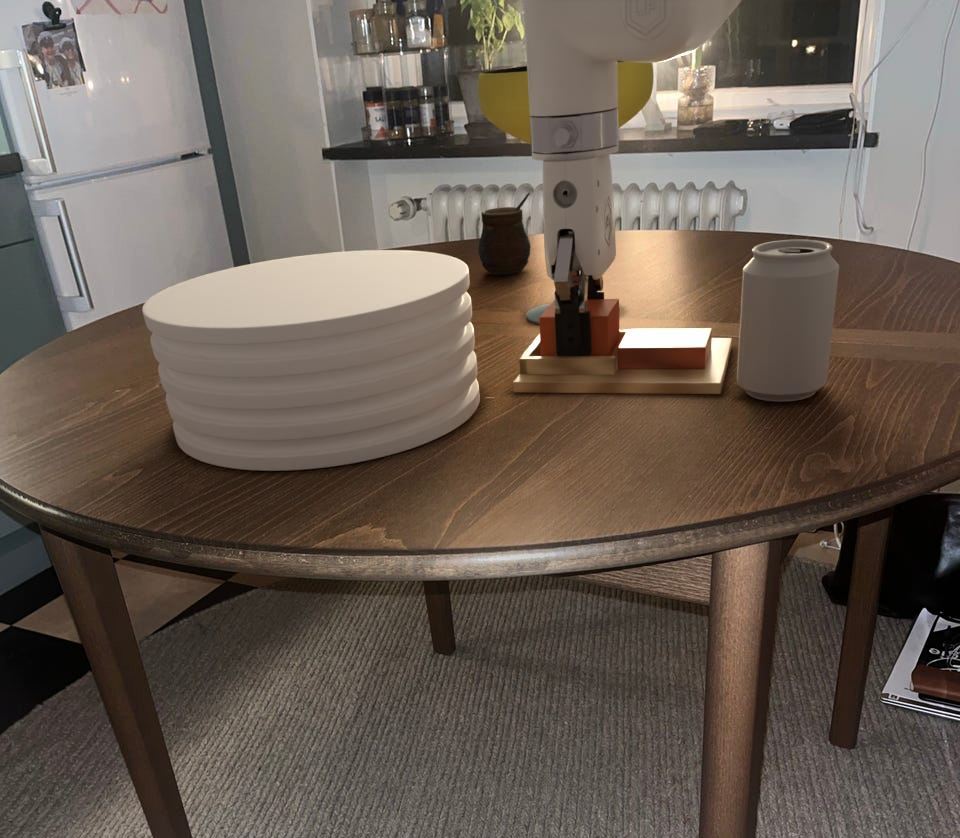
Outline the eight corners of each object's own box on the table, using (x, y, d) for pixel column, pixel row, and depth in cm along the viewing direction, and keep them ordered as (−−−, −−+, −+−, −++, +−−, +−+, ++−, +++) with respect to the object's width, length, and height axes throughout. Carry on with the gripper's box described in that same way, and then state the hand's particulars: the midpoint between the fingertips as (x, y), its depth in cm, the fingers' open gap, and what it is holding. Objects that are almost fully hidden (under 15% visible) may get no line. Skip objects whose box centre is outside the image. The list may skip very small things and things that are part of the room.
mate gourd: (480, 268, 139) (474, 192, 133) (533, 264, 138) (529, 187, 133) (478, 279, 132) (472, 200, 127) (534, 275, 132) (530, 195, 127)
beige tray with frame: (731, 347, 96) (733, 317, 95) (720, 394, 85) (722, 360, 84) (546, 348, 102) (545, 319, 100) (513, 392, 90) (511, 360, 89)
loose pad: (619, 340, 95) (619, 298, 93) (608, 360, 90) (607, 316, 88) (555, 341, 97) (553, 300, 95) (541, 360, 92) (538, 317, 90)
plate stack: (542, 395, 89) (536, 263, 83) (291, 499, 73) (260, 347, 67) (355, 352, 107) (338, 241, 101) (121, 428, 91) (84, 303, 85)
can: (837, 381, 85) (853, 236, 79) (809, 409, 80) (824, 256, 74) (754, 373, 89) (763, 234, 83) (722, 399, 84) (729, 252, 78)
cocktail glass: (679, 300, 114) (685, 52, 101) (599, 341, 102) (594, 66, 89) (550, 290, 124) (540, 63, 110) (464, 327, 112) (441, 77, 99)
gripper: (599, 145, 76) (604, 372, 85) (632, 122, 90) (634, 320, 99) (507, 152, 78) (521, 373, 87) (553, 128, 92) (562, 321, 101)
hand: (581, 343), depth 93 cm, fingers closed on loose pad, 6 cm apart
